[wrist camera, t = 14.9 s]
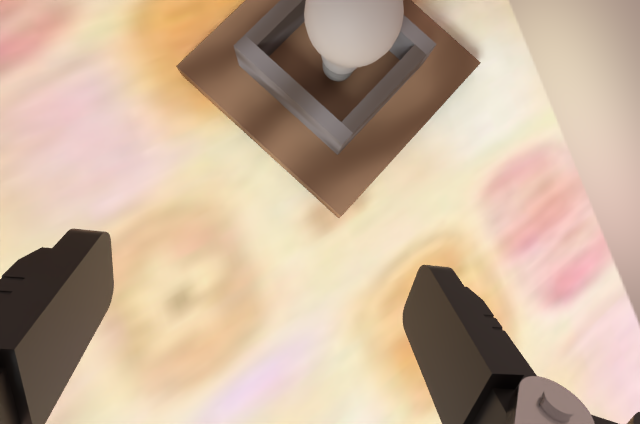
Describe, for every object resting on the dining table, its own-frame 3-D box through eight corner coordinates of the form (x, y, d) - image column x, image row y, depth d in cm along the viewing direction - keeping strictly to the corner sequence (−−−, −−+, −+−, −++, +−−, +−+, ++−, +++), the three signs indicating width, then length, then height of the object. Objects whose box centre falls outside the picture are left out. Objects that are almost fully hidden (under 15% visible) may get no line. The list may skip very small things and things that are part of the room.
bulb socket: (181, 74, 32) (163, 46, 28) (324, -62, 34) (328, -109, 30) (338, 218, 32) (346, 212, 27) (472, 70, 34) (499, 43, 30)
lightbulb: (365, 30, 32) (407, -76, 21) (378, 101, 32) (427, 30, 21) (293, 39, 31) (298, -66, 20) (306, 111, 31) (317, 44, 20)
